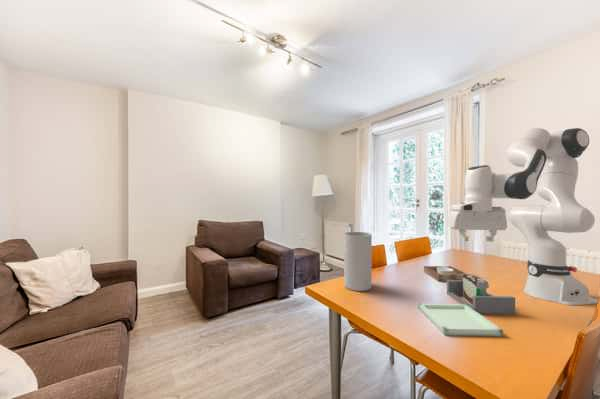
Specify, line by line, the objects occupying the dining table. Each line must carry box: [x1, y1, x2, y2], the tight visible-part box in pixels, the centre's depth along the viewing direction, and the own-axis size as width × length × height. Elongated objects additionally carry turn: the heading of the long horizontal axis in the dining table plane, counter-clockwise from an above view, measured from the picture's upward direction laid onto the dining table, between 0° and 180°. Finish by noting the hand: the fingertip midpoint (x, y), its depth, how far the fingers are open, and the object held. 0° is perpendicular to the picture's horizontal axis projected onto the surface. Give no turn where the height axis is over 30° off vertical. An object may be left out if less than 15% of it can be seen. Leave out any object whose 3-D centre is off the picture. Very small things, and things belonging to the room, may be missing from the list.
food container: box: [462, 272, 490, 306], centre depth 93 cm, size 12×6×10 cm, turn 168°
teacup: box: [437, 267, 453, 274], centre depth 124 cm, size 10×10×5 cm
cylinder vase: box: [343, 231, 373, 292], centre depth 111 cm, size 12×12×25 cm
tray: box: [417, 302, 504, 337], centre depth 80 cm, size 17×17×2 cm
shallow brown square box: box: [423, 265, 467, 283], centre depth 124 cm, size 15×15×4 cm
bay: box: [446, 280, 516, 315], centre depth 93 cm, size 14×17×6 cm
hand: (477, 241), depth 93 cm, fingers open, 8 cm apart
